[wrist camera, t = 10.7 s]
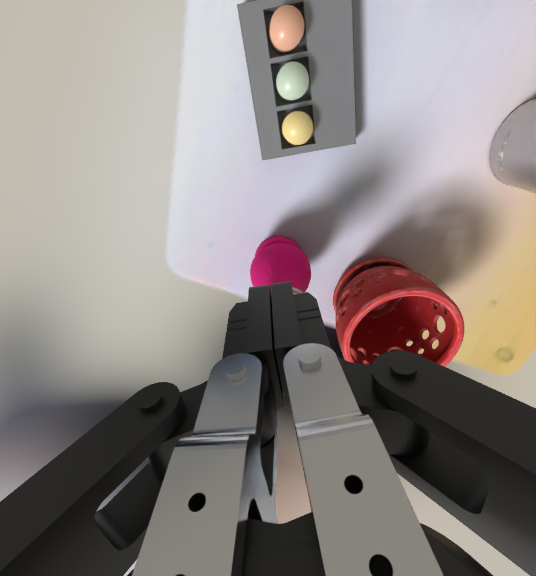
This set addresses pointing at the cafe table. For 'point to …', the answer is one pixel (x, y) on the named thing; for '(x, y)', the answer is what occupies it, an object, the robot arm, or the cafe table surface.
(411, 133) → the cafe table surface
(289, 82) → the sage button
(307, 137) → the ochre button
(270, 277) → the pepper mill
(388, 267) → the plant pot
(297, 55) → the panel
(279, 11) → the terracotta button
